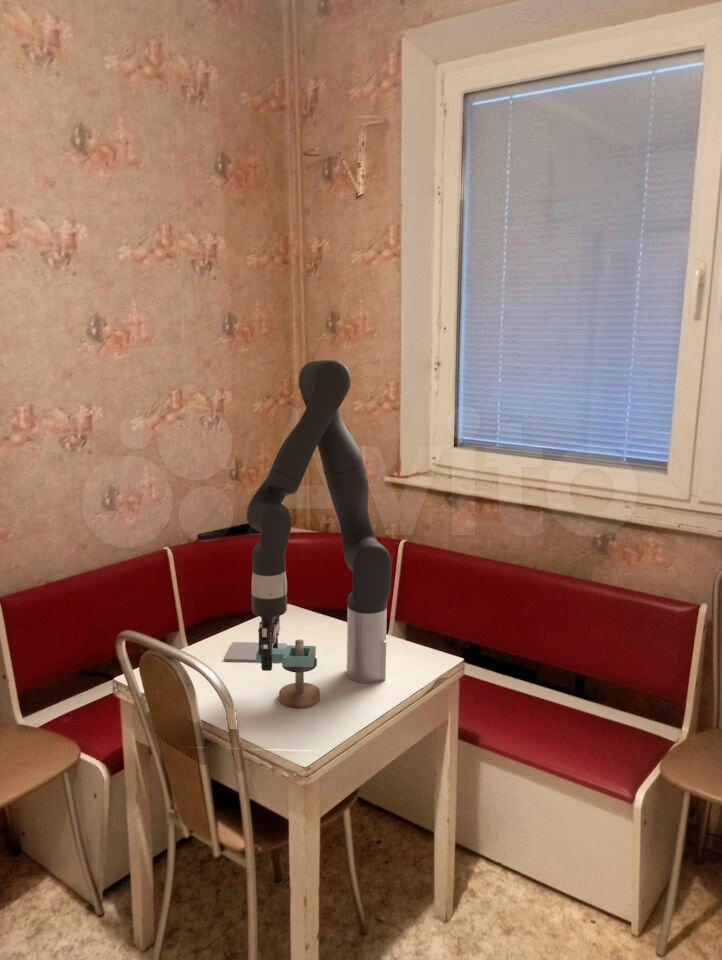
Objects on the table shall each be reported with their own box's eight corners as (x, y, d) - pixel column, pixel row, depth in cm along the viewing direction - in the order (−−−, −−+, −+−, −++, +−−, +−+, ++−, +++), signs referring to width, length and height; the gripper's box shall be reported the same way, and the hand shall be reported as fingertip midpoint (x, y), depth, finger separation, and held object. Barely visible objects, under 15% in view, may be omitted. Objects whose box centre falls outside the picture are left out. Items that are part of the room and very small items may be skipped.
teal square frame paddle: (315, 654, 158) (315, 646, 158) (312, 667, 152) (312, 658, 151) (260, 652, 158) (259, 644, 158) (254, 665, 152) (254, 657, 152)
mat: (286, 645, 184) (286, 643, 184) (281, 662, 174) (281, 660, 174) (233, 644, 184) (232, 641, 184) (224, 661, 174) (224, 658, 174)
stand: (321, 689, 161) (321, 633, 158) (318, 709, 152) (318, 650, 150) (282, 688, 161) (281, 632, 159) (276, 707, 152) (275, 649, 150)
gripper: (282, 603, 145) (282, 676, 148) (290, 580, 159) (291, 648, 162) (245, 602, 145) (246, 675, 148) (257, 579, 159) (258, 647, 162)
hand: (269, 661), depth 155 cm, fingers open, 8 cm apart
